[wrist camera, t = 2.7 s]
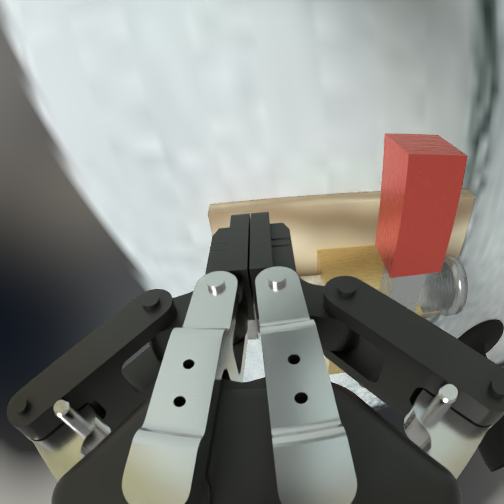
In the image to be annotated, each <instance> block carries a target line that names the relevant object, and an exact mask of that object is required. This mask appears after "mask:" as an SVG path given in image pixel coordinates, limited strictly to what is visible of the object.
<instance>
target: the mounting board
mask: <svg viewBox="0 0 504 504" xmlns="http://www.w3.org/2000/svg"><path fill="white" fill-rule="evenodd" d="M380 197H381V191H378V192H358V193H341V194H325V195H310V196H297V197H284V198H272V199H261V200H250V201H239V202H229V203H220V204H210V207H209V211H208V217H209V222H210V227H211V231H212V236H213V235H214V234H215V233H216V231H217V230H218V229H219V228H228V227H230V220H231V215H236V214H247V213H249V214H250V219H251V213H257V212H268V211H269V219H270V224H272V223H284V224H285V225H286V226H287V227H288V228H289V229H290V235H291V241H292V247H293V254H294V260H295V267H296V272H297V274H298V275H299V276H311V275H316V270H317V250H322V249H334V248H346V247H358V246H369V245H375V241H376V233H377V225H378V216H379V207H380ZM474 200H475V196H474V195H473V194H472V193H471V192H470V191H469V190H467V189H461V194H460V199H459V203H458V208H457V212H456V217H455V221H454V225H453V229H452V233H451V237H450V241H449V244H448V248H447V251H446V255H445V256H451V255H452V256H455V257H456V258H458V259H459V255H460V252H461V249H462V246H463V242H464V239H465V235H466V232H467V228H468V224H469V221H470V217H471V213H472V209H473V204H474ZM438 314H439V312H434V313H428V314H422V315H421V317H429V316H435V315H438ZM260 336H261V334H260Z"/></svg>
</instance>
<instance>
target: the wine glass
mask: <svg viewBox="0 0 504 504" xmlns="http://www.w3.org/2000/svg"><path fill="white" fill-rule="evenodd" d="M503 330H504V326H503V324H502V322H501V321H499V320H488V321H485V322H482V323H480V324H478V325H476V326H474V327H473V328H471V329H470V330H468V331H467V332H465V333H464V334H463V335H462V336H461V337H460V338H458V340H459V341H461V342H463V343H464V344H466V345H467V346H469V347H470V348H472V349H474V350H475V351H477V352H478V353H480V354H481V355H483V356H484V357H486V354H485V353H487V352H488V351H489V350H490V349H491V348H493V347H494V345H495V344H496V343H497V342H498V341H499V339H500V338H501V336H502V334H503ZM486 358H487V357H486ZM478 448H479V451H480V454H481V456H482V458H483V460H484V461H485V463H486V465H487V466H488V468H489V469H490V471H491V472H493V471H496V470H498V469H500V468H502V467H504V415H503V416H502V417H501V418H500V419H499V420H498V421H497V422H496V423H495V424H494V425H493V426H492V427H491V428H490V429H489V430H487V432H486V434H485V436H484V437H483V439H482V441H481V442H480V444H479V446H478Z"/></svg>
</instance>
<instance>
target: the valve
mask: <svg viewBox="0 0 504 504" xmlns="http://www.w3.org/2000/svg"><path fill="white" fill-rule="evenodd" d="M383 268H384V263H383V261H382V259H381V257H380V255H379V253H378V251H377V248H376V246H375V245H369V246H358V247H346V248H334V249H322V250H317V270H316V275H311V276H299V277H300V278H301V279H303V280H304V281H306V282H308V283H311V284H315V285H321V286H325V285H326V283H327V282H328V281H329V280H331V279H332V278H335V277H338V276H352V277H355V278H358V279H360V280H362V281H363V282H365V283H367V284H368V285H370V286H372V287H373V288H375V289H377V290H378V291H379V289H380V283H381V278H382V273H383ZM467 289H468V287H467V278H466V273H465V270H464V268H463V265H462V264H461V262H460V261H459V259H458V258H456V257H455V256H452V255H451V256H445V258H444V262H443V265H442V268H441V272H436V273H428V274H426V276H425V280H424V283H423V286H422V290H421V293H420V296H419V299H418V302H417V305H416V309H415V313H416V314H418V315H419V316H421V315H422V314H428V313H434V312H440V313H441V314H443V315H445V316H448V315H453V314H458V313H459V312H461V310H462V309H463V307H464V305H465V303H466V299H467ZM247 335H248V340H253V339H259V338H260V321H259V319H258V320H257V318H256V311H255V320H248V331H247ZM325 361H326V365H327V369H328V373H329V374H337V373H345V372H344V371H343V370H342V369H340V368H339V367H338V366H336V365H335V364H334V363H333V362H331V361H330V360H329V359H327V358H326V357H325Z"/></svg>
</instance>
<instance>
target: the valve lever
mask: <svg viewBox="0 0 504 504" xmlns="http://www.w3.org/2000/svg"><path fill="white" fill-rule="evenodd" d="M466 161H467V155H465V154H464V153H463V152H461V151H460V150H458V149H457V148H456V147H454V146H453V145H451V144H450V143H449V142H447V141H446V140H444V139H443V138H441V137H440V136H438V135H423V134H385V139H384V158H383V173H382V186H381V197H380V207H379V216H378V225H377V233H376V241H375V246H376V248H377V251H378V253H379V255H380V257H381V259H382V261H383V263H384V268H383V273H382V278H381V283H380V289H379V291H380V292H382V293H383V294H385V295H387V296H388V297H390V298H392V299H393V300H395V301H397V302H398V303H400V304H401V305H403V306H405V307H406V308H408V309H410V310H411V311H413V312H415V309H416V305H417V302H418V299H419V296H420V293H421V290H422V286H423V283H424V280H425V276H426V274H428V273H436V272H441V268H442V265H443V262H444V258H445V255H446V251H447V248H448V244H449V241H450V237H451V233H452V229H453V225H454V221H455V217H456V212H457V208H458V203H459V199H460V194H461V189H462V184H463V178H464V173H465V167H466ZM359 385H360V386H361V387H364V386H362V385H361V384H360V383H359ZM364 388H365V387H364Z"/></svg>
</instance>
